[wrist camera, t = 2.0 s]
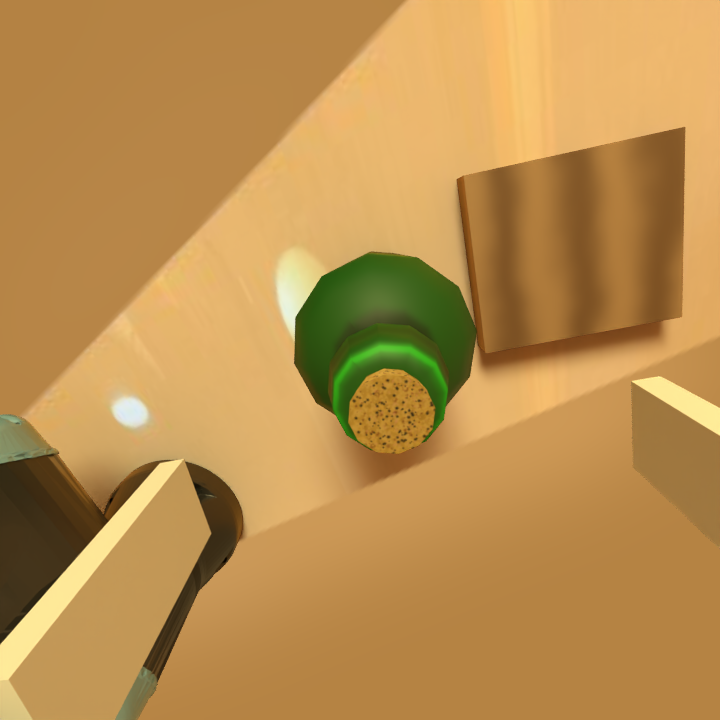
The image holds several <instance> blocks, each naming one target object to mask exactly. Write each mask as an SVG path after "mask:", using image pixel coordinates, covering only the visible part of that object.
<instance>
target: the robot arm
mask: <svg viewBox="0 0 720 720" xmlns="http://www.w3.org/2000/svg"><path fill="white" fill-rule="evenodd" d="M631 388H632V389H631V390H632V391H631V392H632V439H633V440H632V444H633V468H634V469H636V470H637V471H638V472H639V473H640V474H641V475H642V476H643V477H644V478H645V479H646V480H647V481H648V482H649V483H650V484H651V485H652V486H654V487H655V488H656V489H657V490H658V491H659V492H660V493H661V494H662V495H663V496H664V497H665V498H666V499H667V500H669V502H671V503H672V504H673V505H674V506H675V507H676V508H677V509H678V510H679V511H680V512H681V513H682V514H683V515H684V516H685V517H687V518H688V519H689V520H690V521H691V522H692V523H693V524H694V525H695V526H696V527H697V528H698V529H699V530H700V531H701V532H702V533H703V534H705V535H706V536H707V537H708V538H709V539H710V540H711V541H712V542H713V543H714V544H715V545H716V546H717V547H718V548H719V549H720V408H718V407H716V406H715V405H713V404H711V403H709V402H707V401H705V400H703V399H701V398H700V397H698V396H696V395H694V394H692V393H690V392H688V391H687V390H685V389H683V388H681V387H679V386H677V385H675V384H674V383H672V382H670V381H668V380H666V379H664V378H662V377H660V376H659V377H653V378H647V379H641V380H636V381H631ZM58 454H59V452H58V450H57V449H55V448H52V447H51V446H50V445H49V444H48V443H47V442H46V441H45V440H44V439H43V438H42V436H41V435H40V434H39V433H38V432H37V431H36V429H35V428H34V427H33V426H32V425H31V424H30V423H29V422H28V421H27V420H25V419H24V418H22V417H19V416H15V415H0V720H137V719H138V717H139V716H140V714H141V712H142V710H143V708H144V707H145V705H146V703H147V701H148V699H149V698H150V697H151V696H152V695H153V693H154V692H155V690H156V686H157V682H158V680H159V678H160V675H161V673H162V671H163V669H164V667H165V664H166V662H167V660H168V658H169V656H170V653H171V651H172V649H173V646H174V644H175V642H176V640H177V638H178V635H179V633H180V631H181V629H182V627H183V624H184V622H185V620H186V618H187V615H188V613H189V611H190V609H191V607H192V604H193V602H194V600H195V598H196V596H197V594H198V591H199V590H200V589H201V588H202V587H203V586H204V585H205V584H206V583H207V582H208V581H209V580H210V579H211V578H212V577H213V575H214V574H215V573H216V572H218V571H219V570H220V569H221V568H222V567H223V566H224V565H225V564H226V563H227V562H228V560H229V559H230V557H231V556H232V554H233V552H234V550H235V548H236V545H237V543H238V541H239V538H240V536H241V532H242V526H243V518H242V512H241V508H240V505H239V502H238V500H237V498H236V497H235V495H234V493H233V492H232V490H231V489H230V488H229V487H228V486H227V484H226V483H225V482H224V481H222V480H221V479H220V478H219V477H218V476H216V475H215V474H213V473H212V472H210V471H208V470H207V469H205V468H203V467H200V466H198V465H195V464H192V463H188V462H185V461H184V459H180V460H162V461H156V462H152V463H148V464H145V465H143V466H141V467H139V468H137V469H136V470H134V471H133V472H131V473H130V474H129V475H128V476H127V477H126V478H125V479H124V480H123V481H122V482H121V483H120V484H119V485H118V486H117V488H116V489H115V490H114V492H113V493H112V495H111V496H110V498H109V500H108V502H107V505H106V508H105V512H104V515H103V513H102V512H101V511H100V509H99V508H98V507H97V506H96V504H95V503H94V502H93V501H92V499H91V498H90V497H89V495H88V494H87V493H86V491H85V490H84V489H83V487H82V486H81V485H80V483H79V482H78V481H77V479H76V478H75V477H74V475H73V474H72V473H71V471H70V470H69V469H68V467H67V466H66V465H65V463H64V462H63V461H62V459H61V458H60V457H59V455H58Z"/></svg>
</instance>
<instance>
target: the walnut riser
mask: <svg viewBox="0 0 720 720" xmlns="http://www.w3.org/2000/svg"><path fill="white" fill-rule="evenodd" d="M684 169H685V127H682V128H678V129H673V130H669V131H664V132H660V133H655V134H651V135H646V136H642V137H637V138H633V139H628V140H624V141H619V142H614V143H610V144H605V145H601V146H596V147H592V148H587V149H583V150H578V151H574V152H569V153H565V154H560V155H556V156H551V157H546V158H542V159H537V160H533V161H528V162H524V163H519V164H515V165H510V166H506V167H501V168H497V169H492V170H487V171H483V172H478V173H474V174H469V175H465V176H462V177H460V178H458V179H457V185H458V192H459V200H460V208H461V216H462V223H463V231H464V239H465V247H466V255H467V262H468V270H469V278H470V286H471V293H472V301H473V309H474V317H475V324H476V330H477V340H478V345H479V347H480V348H481V349H482V350H483V351H484V352H485V353H491V352H497V351H502V350H507V349H513V348H518V347H524V346H529V345H534V344H540V343H545V342H550V341H556V340H561V339H567V338H572V337H577V336H583V335H588V334H593V333H599V332H604V331H610V330H615V329H620V328H626V327H631V326H637V325H642V324H647V323H653V322H658V321H663V320H669V319H674V318H680V317H682V291H683V230H684Z"/></svg>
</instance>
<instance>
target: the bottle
mask: <svg viewBox="0 0 720 720" xmlns="http://www.w3.org/2000/svg"><path fill="white" fill-rule="evenodd" d="M476 334H477V330H476V327H475V325H474V322H473V320H472V318H471V315H470V313H469V310H468V308H467V306H466V303H465V301H464V298H463V296H462V294H461V291H460V289H459V287H458V286H457V285H455V284H454V283H453V282H451V281H450V280H448V279H447V278H446V277H444V276H443V275H441V274H440V273H439V272H437V271H436V270H434V269H433V268H432V267H430V266H429V265H427V264H426V263H425V262H423V261H422V260H420V259H419V258H416V257H411V256H405V255H400V254H394V253H382V252H369V253H367V254H365V255H363V256H361V257H359V258H357V259H355V260H353V261H351V262H349V263H347V264H345V265H343V266H341V267H339V268H337V269H335V270H333V271H331V272H329V273H328V274H326V275H324V276H322V277H321V278H320V280H319V282H318V283H317V285H316V286H315V288H314V289H313V291H312V292H311V294H310V296H309V297H308V299H307V300H306V302H305V303H304V305H303V306H302V308H301V310H300V311H299V313H298V314H297V316H296V318H295V357H294V364H295V366H296V367H297V369H298V371H299V373H300V375H301V376H302V378H303V380H304V382H305V384H306V385H307V387H308V389H309V391H310V393H311V394H312V396H313V398H314V400H315V402H316V403H317V404H319V405H320V406H322V407H324V408H325V409H327V410H328V411H330V412H332V413H333V414H335V415H336V417H337V418H338V420H339V422H340V424H341V426H342V428H343V429H344V431H345V433H346V435H347V436H349V437H350V438H352V439H354V440H355V441H357V442H358V443H360V444H362V445H363V446H365V447H367V448H368V449H370V450H374V451H375V452H379V453H392V454H400V453H402V452H405V451H407V450H410V449H412V448H414V447H417V446H419V445H420V444H421V443H423V442H425V441H427V439H428V438H429V437H430V436H431V435H432V433H433V432H434V431H435V430H436V428H437V427H438V426H439V425H440V423H441V422H442V421H443V420H444V414H445V407H446V406H447V404H448V403H449V402H450V401H451V399H452V398H453V397H454V396H455V394H456V393H457V392H458V391H459V389H460V388H461V387H462V386H463V384H464V383H465V382H466V381H467V380H468V378H469V377H470V372H471V366H472V360H473V353H474V347H475V341H476Z"/></svg>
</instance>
